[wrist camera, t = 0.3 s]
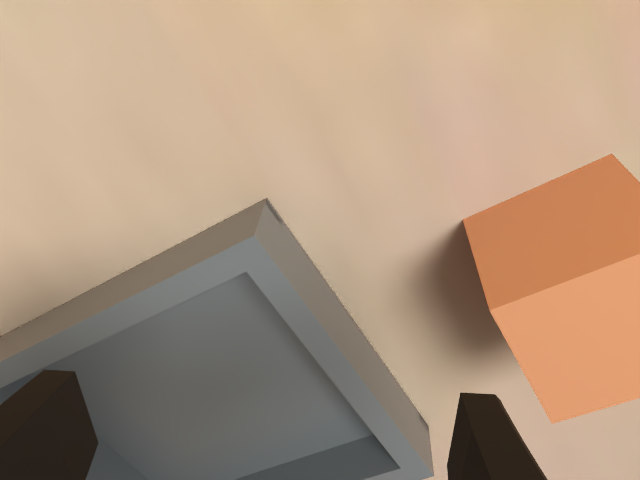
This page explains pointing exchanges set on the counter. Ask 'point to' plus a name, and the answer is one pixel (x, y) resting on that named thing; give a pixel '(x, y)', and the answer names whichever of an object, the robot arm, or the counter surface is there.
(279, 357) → the slate tray
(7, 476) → the robot arm
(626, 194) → the orange block
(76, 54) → the counter surface
